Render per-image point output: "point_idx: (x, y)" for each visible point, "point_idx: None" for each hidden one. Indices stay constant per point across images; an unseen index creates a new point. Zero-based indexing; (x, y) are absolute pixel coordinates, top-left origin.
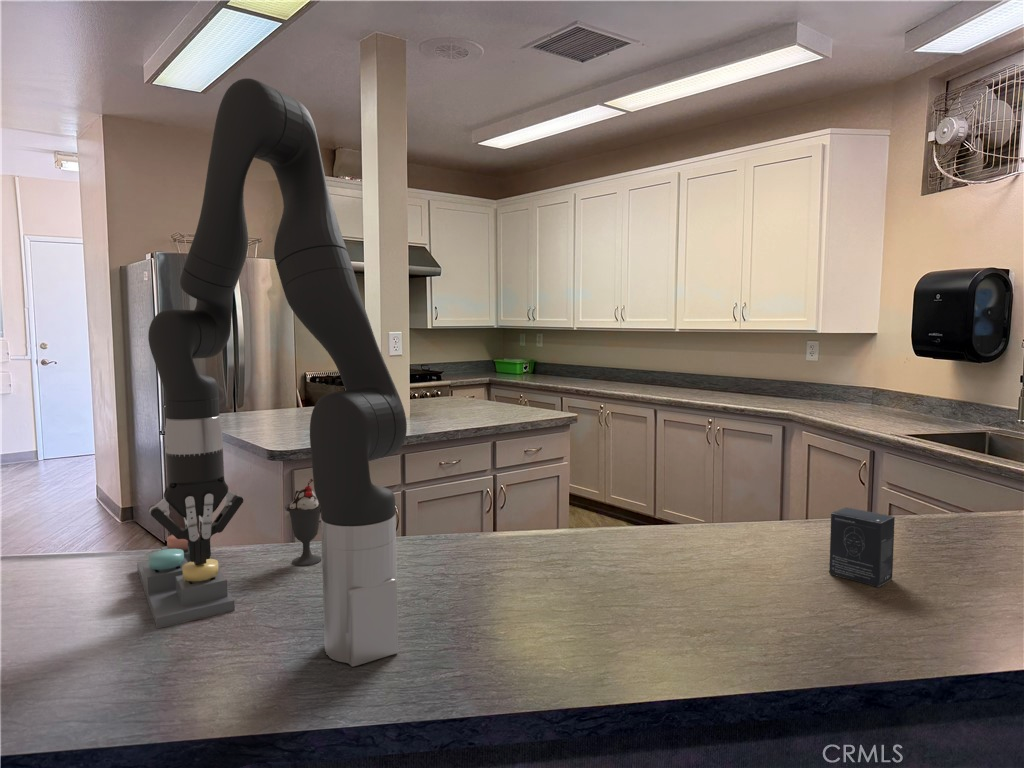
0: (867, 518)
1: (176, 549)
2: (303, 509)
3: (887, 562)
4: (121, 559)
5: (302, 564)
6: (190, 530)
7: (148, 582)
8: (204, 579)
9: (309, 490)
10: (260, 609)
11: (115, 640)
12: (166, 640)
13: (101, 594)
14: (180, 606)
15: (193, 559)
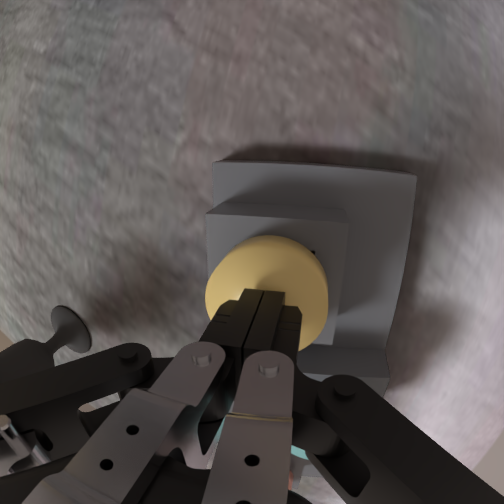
0: None
1: (293, 449)
2: None
3: None
4: (337, 497)
5: (73, 316)
6: (279, 401)
7: (386, 367)
8: (270, 236)
9: None
10: (168, 130)
11: (485, 174)
12: (401, 87)
13: (420, 416)
14: (349, 213)
15: (288, 310)
